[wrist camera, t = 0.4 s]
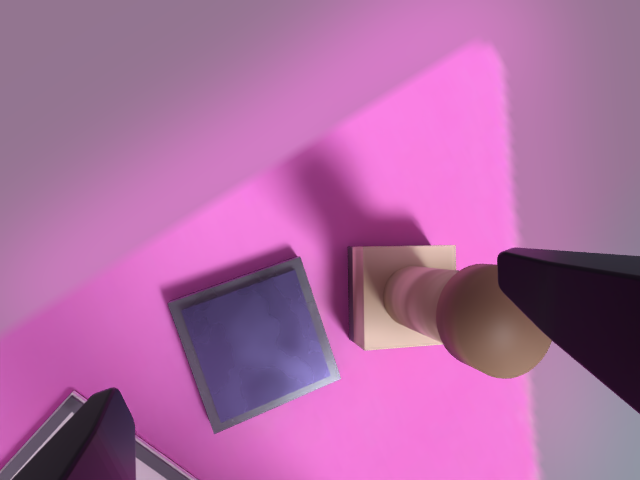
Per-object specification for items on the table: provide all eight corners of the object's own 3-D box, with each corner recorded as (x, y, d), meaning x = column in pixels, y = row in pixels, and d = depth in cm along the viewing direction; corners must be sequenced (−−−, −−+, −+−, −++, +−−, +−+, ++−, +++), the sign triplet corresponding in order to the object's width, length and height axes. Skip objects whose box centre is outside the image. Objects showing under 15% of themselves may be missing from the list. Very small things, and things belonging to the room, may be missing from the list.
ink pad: (336, 373, 25) (342, 380, 24) (214, 426, 24) (214, 437, 22) (297, 256, 25) (301, 257, 24) (170, 300, 23) (166, 304, 22)
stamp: (432, 332, 27) (573, 391, 16) (349, 338, 26) (440, 407, 15) (431, 245, 27) (569, 244, 16) (347, 246, 26) (437, 246, 15)
